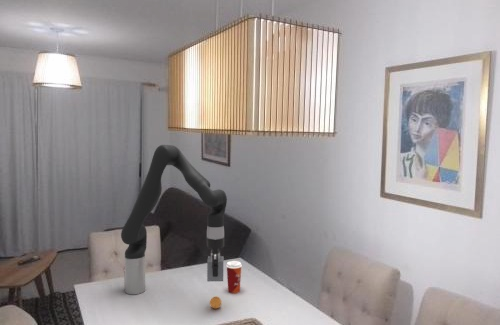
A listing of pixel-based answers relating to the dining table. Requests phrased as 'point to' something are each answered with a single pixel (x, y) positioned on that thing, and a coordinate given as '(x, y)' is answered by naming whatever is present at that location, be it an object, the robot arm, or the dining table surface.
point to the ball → (215, 302)
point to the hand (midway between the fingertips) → (215, 273)
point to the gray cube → (210, 270)
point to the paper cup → (234, 276)
